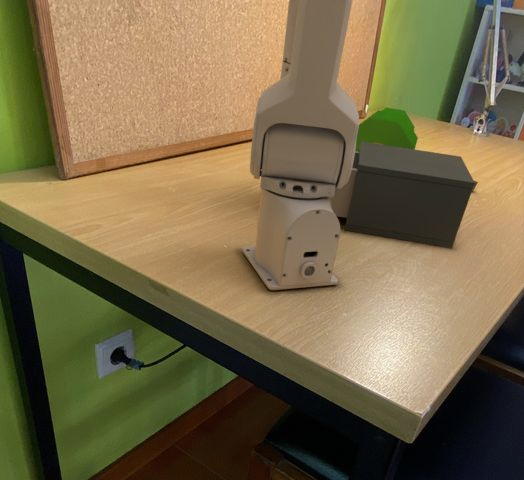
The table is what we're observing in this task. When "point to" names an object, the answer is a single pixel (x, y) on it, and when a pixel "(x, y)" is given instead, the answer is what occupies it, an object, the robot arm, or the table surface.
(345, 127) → the robot arm
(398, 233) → the cabinet
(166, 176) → the table surface
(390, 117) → the decorative tree
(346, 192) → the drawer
